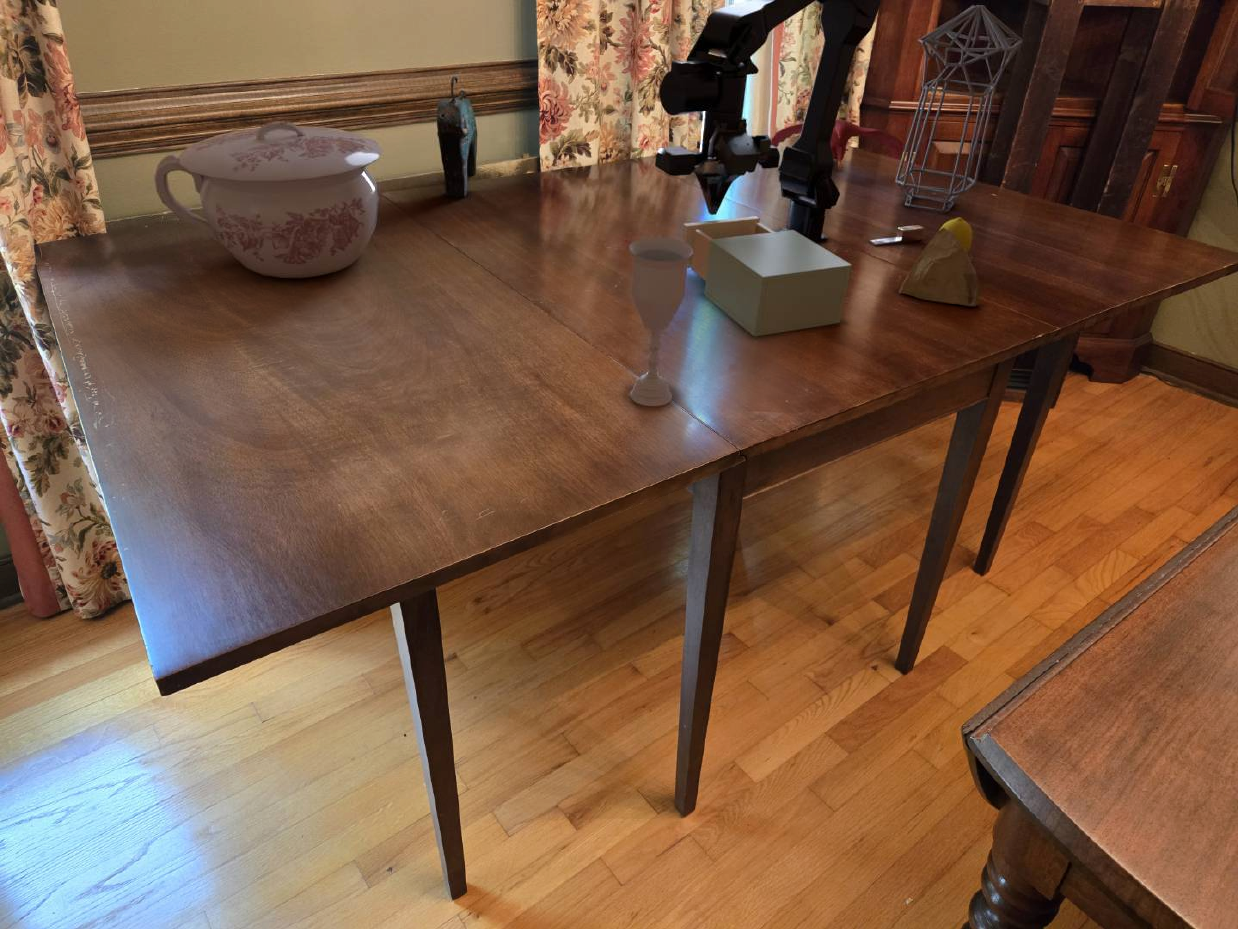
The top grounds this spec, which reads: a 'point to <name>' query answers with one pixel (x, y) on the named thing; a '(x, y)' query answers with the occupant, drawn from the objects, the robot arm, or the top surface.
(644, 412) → the top surface
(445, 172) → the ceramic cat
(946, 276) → the rock
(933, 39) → the geometric lantern
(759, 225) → the drawer
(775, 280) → the cabinet
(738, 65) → the robot arm
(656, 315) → the chalice
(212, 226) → the chamber pot
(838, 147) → the decorative bird sculpture
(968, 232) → the lemon
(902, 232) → the metal z bracket
